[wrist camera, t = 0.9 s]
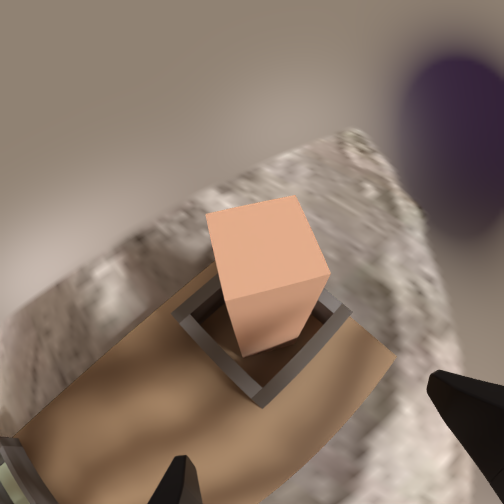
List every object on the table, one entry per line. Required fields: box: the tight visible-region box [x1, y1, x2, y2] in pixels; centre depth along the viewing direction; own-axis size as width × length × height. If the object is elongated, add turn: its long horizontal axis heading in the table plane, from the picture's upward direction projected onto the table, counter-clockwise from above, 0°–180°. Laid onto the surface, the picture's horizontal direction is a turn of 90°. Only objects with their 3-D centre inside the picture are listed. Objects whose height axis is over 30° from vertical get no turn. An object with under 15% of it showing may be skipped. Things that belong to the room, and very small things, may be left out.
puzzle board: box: [0, 260, 397, 504], centre depth 15 cm, size 17×42×4 cm, turn 135°
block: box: [206, 195, 331, 358], centre depth 16 cm, size 4×4×12 cm
